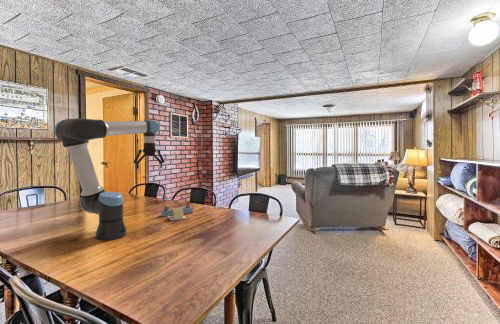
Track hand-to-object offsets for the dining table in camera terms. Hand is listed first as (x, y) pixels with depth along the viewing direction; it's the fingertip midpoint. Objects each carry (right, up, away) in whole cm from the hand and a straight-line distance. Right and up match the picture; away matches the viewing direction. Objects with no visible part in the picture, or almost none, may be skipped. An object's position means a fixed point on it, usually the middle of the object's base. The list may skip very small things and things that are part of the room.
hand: (149, 173), depth 177 cm
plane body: (+17, -31, +10) cm, 36 cm away
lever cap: (+19, -30, 0) cm, 36 cm away
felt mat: (+19, -31, 0) cm, 36 cm away
